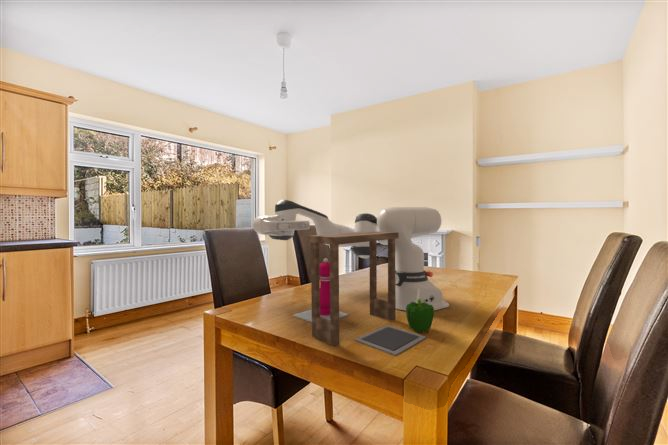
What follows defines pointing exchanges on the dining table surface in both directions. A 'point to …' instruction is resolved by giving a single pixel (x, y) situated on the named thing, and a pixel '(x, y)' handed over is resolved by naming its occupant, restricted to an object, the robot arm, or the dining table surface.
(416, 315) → the bell pepper
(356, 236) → the walnut tunnel
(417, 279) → the robot arm
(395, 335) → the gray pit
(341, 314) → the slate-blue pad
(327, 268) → the pepper mill
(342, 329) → the dining table surface
